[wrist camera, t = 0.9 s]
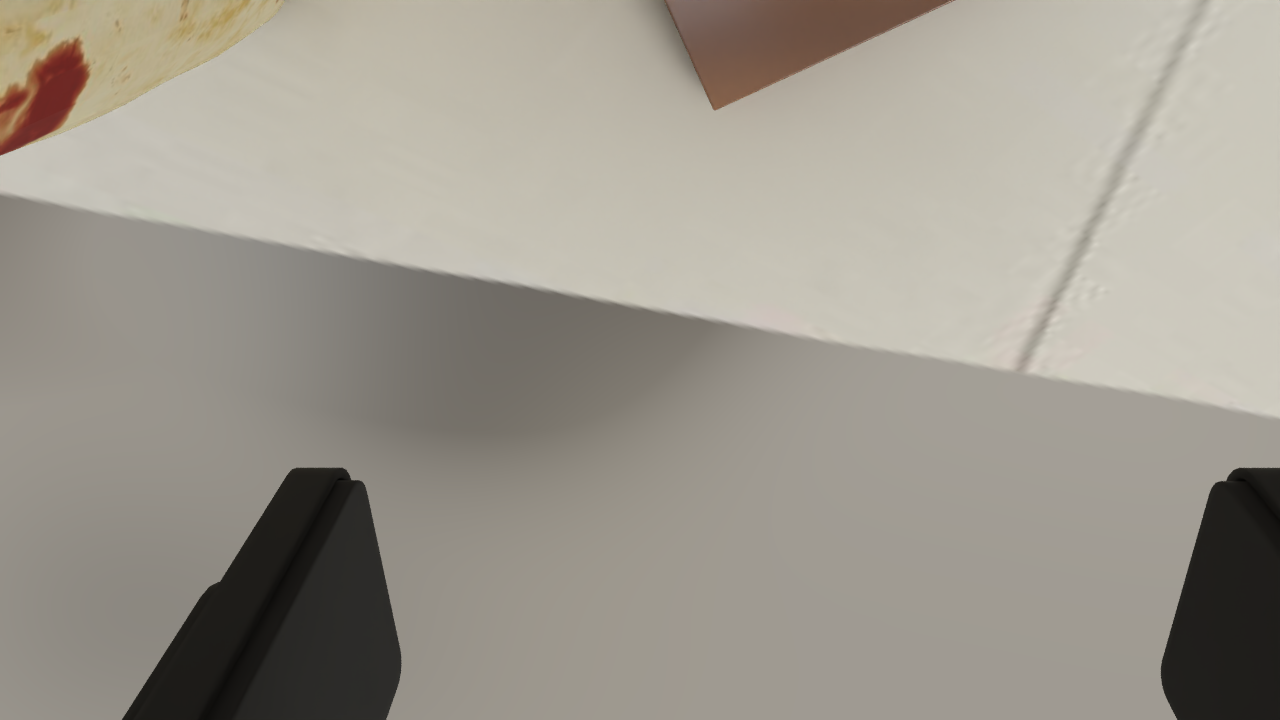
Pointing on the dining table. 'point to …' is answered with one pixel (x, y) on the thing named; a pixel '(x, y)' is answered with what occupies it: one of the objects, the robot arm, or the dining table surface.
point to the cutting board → (777, 36)
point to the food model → (104, 55)
